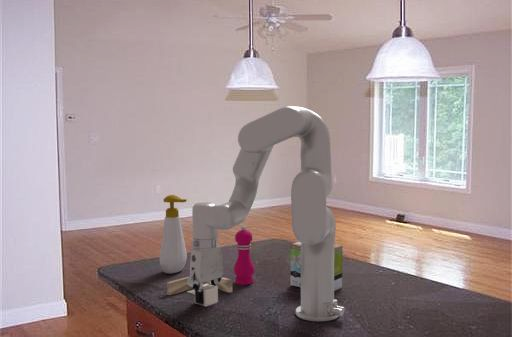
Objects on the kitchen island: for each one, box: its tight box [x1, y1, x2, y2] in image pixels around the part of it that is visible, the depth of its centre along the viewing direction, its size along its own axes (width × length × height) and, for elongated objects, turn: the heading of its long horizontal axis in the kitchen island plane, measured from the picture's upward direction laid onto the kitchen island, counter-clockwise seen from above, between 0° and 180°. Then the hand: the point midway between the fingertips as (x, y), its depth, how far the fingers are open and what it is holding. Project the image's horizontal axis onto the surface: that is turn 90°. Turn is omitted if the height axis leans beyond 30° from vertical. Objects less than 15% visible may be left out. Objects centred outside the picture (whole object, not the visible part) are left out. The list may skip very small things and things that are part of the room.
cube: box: [194, 284, 219, 307], centre depth 166 cm, size 5×5×5 cm
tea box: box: [289, 241, 343, 292], centre depth 181 cm, size 15×10×15 cm, turn 47°
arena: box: [166, 275, 233, 296], centre depth 176 cm, size 14×16×4 cm
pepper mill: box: [233, 225, 255, 286], centre depth 187 cm, size 7×7×20 cm
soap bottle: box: [159, 194, 188, 275], centre depth 201 cm, size 13×10×29 cm
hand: (206, 300), depth 167 cm, fingers closed on cube, 5 cm apart
